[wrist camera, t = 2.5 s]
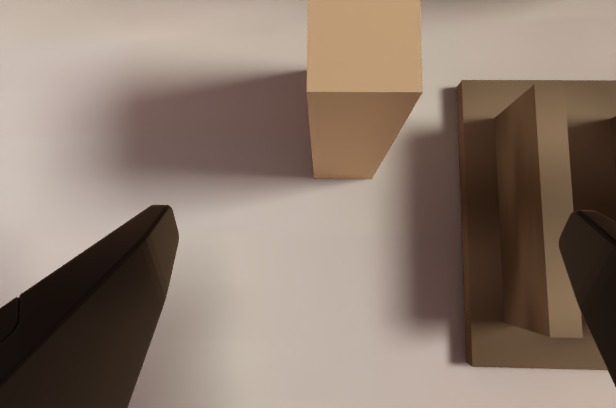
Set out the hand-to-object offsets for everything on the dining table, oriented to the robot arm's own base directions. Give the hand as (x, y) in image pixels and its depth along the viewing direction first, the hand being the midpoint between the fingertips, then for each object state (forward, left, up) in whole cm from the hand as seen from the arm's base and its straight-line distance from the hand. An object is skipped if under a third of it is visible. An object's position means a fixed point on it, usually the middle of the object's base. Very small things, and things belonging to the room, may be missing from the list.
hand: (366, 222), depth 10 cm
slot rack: (+1, -11, -12) cm, 16 cm away
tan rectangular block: (+6, 0, -12) cm, 13 cm away
